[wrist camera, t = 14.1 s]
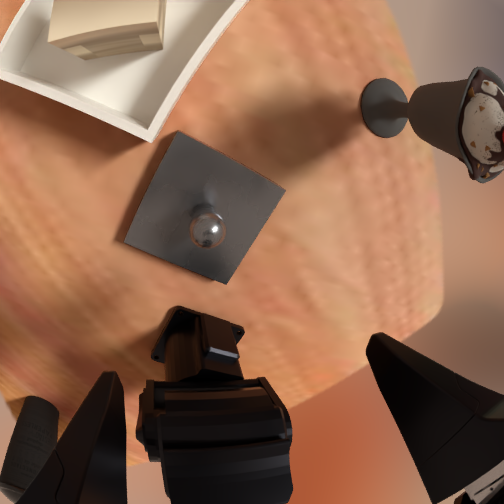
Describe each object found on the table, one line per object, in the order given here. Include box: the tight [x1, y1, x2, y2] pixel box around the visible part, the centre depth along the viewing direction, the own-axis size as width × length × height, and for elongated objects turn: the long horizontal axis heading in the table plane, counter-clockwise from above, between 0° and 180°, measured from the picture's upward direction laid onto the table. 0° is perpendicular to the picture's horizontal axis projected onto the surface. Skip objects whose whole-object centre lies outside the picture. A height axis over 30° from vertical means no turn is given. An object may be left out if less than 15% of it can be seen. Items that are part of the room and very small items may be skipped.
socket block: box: [48, 0, 167, 60], centre depth 10 cm, size 5×5×6 cm
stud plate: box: [124, 130, 286, 285], centre depth 18 cm, size 8×8×5 cm
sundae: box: [361, 67, 504, 183], centre depth 13 cm, size 7×7×15 cm
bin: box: [0, 0, 250, 143], centre depth 11 cm, size 12×12×4 cm
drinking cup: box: [0, 396, 59, 504], centre depth 17 cm, size 8×8×20 cm
